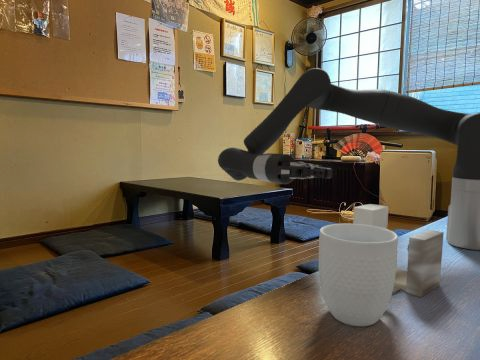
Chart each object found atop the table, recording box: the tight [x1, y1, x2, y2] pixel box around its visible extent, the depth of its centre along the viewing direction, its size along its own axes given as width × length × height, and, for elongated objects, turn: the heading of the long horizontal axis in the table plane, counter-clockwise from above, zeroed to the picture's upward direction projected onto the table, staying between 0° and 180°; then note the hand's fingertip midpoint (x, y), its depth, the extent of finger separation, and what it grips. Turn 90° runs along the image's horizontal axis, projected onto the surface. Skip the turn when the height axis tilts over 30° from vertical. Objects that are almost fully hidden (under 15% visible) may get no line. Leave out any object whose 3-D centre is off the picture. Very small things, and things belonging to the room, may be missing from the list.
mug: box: [317, 223, 399, 327], centre depth 52 cm, size 15×11×13 cm
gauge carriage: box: [352, 203, 389, 229], centre depth 68 cm, size 4×10×12 cm, turn 129°
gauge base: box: [392, 229, 444, 298], centre depth 65 cm, size 14×10×10 cm
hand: (330, 173), depth 76 cm, fingers closed
